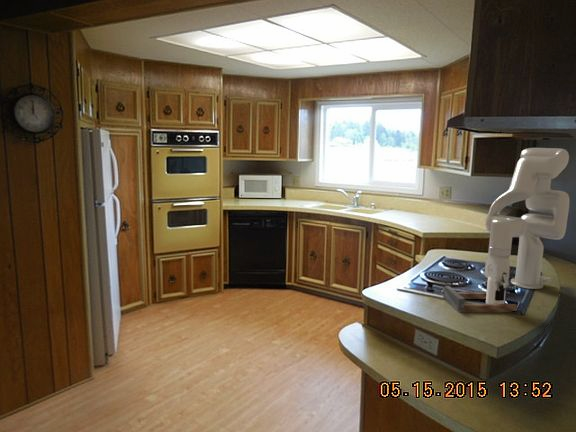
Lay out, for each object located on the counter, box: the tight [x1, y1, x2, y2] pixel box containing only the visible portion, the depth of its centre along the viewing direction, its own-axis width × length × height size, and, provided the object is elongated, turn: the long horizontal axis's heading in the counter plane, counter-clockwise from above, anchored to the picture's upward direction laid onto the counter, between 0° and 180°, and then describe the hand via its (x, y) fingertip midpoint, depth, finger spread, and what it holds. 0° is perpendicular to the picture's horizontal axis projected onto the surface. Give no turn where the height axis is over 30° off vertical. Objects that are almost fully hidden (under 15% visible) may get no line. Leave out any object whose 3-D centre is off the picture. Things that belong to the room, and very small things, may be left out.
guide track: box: [442, 285, 518, 313], centre depth 166 cm, size 22×14×5 cm, turn 92°
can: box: [485, 277, 507, 304], centre depth 165 cm, size 6×6×12 cm
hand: (494, 296), depth 166 cm, fingers closed on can, 5 cm apart
